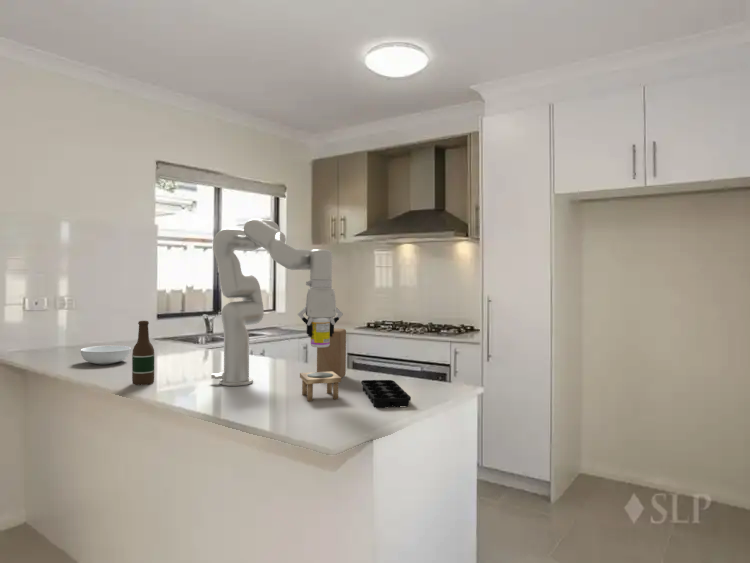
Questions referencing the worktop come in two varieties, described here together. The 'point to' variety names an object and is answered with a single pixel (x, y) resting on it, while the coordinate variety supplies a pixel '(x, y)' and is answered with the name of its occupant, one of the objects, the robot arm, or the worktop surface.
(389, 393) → the egg carton
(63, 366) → the worktop surface
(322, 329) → the supplement bottle
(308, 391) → the footstool
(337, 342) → the wooden block
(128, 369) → the worktop surface
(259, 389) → the worktop surface
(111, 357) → the serving bowl
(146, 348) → the beer bottle
